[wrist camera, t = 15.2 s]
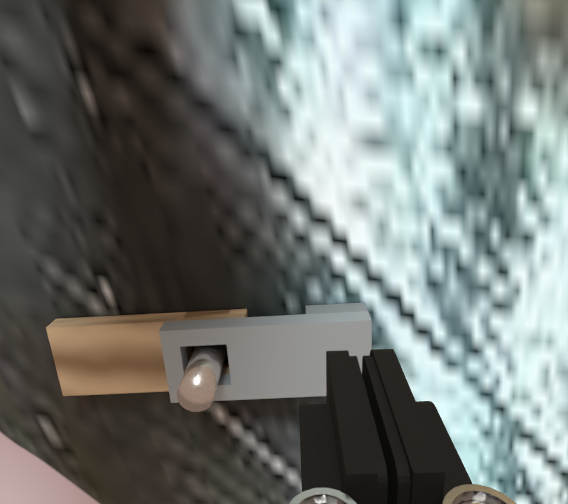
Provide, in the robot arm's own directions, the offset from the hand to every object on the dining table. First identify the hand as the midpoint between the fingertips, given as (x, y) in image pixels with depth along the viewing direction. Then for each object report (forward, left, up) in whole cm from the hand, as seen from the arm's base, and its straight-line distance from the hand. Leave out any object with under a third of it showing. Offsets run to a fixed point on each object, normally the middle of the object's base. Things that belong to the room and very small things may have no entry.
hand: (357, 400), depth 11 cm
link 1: (+16, -17, -32) cm, 40 cm away
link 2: (+16, -5, -32) cm, 36 cm away
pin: (+16, -11, -32) cm, 38 cm away
